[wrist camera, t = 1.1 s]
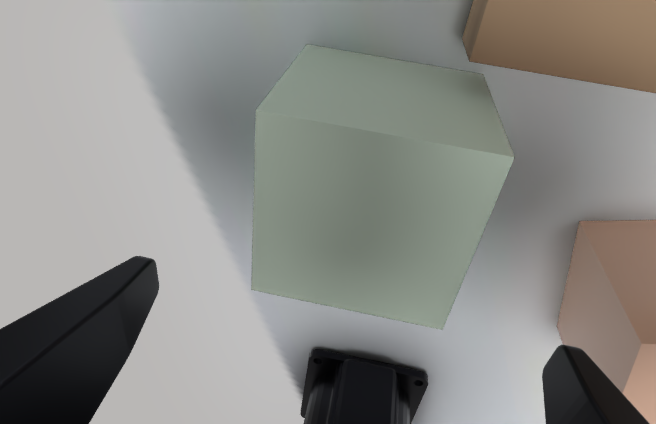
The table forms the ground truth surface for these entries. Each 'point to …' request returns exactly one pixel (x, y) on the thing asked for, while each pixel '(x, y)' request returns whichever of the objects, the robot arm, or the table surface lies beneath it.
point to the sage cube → (374, 183)
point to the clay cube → (615, 305)
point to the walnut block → (568, 39)
